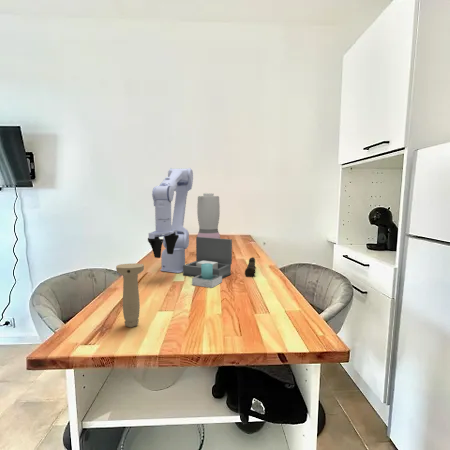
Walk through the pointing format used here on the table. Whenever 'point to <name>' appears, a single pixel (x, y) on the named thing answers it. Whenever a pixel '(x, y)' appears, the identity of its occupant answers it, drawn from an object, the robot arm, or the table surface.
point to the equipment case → (211, 257)
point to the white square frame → (207, 281)
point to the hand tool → (250, 268)
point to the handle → (130, 292)
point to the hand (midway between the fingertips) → (164, 255)
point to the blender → (208, 215)
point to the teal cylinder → (207, 271)
